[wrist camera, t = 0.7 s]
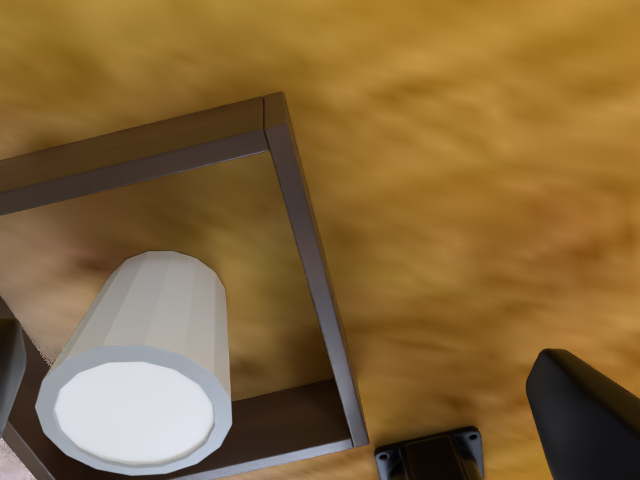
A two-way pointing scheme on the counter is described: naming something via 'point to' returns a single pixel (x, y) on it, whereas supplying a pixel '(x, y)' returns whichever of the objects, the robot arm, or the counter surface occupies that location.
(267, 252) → the counter surface
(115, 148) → the brown square frame
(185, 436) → the shot glass
